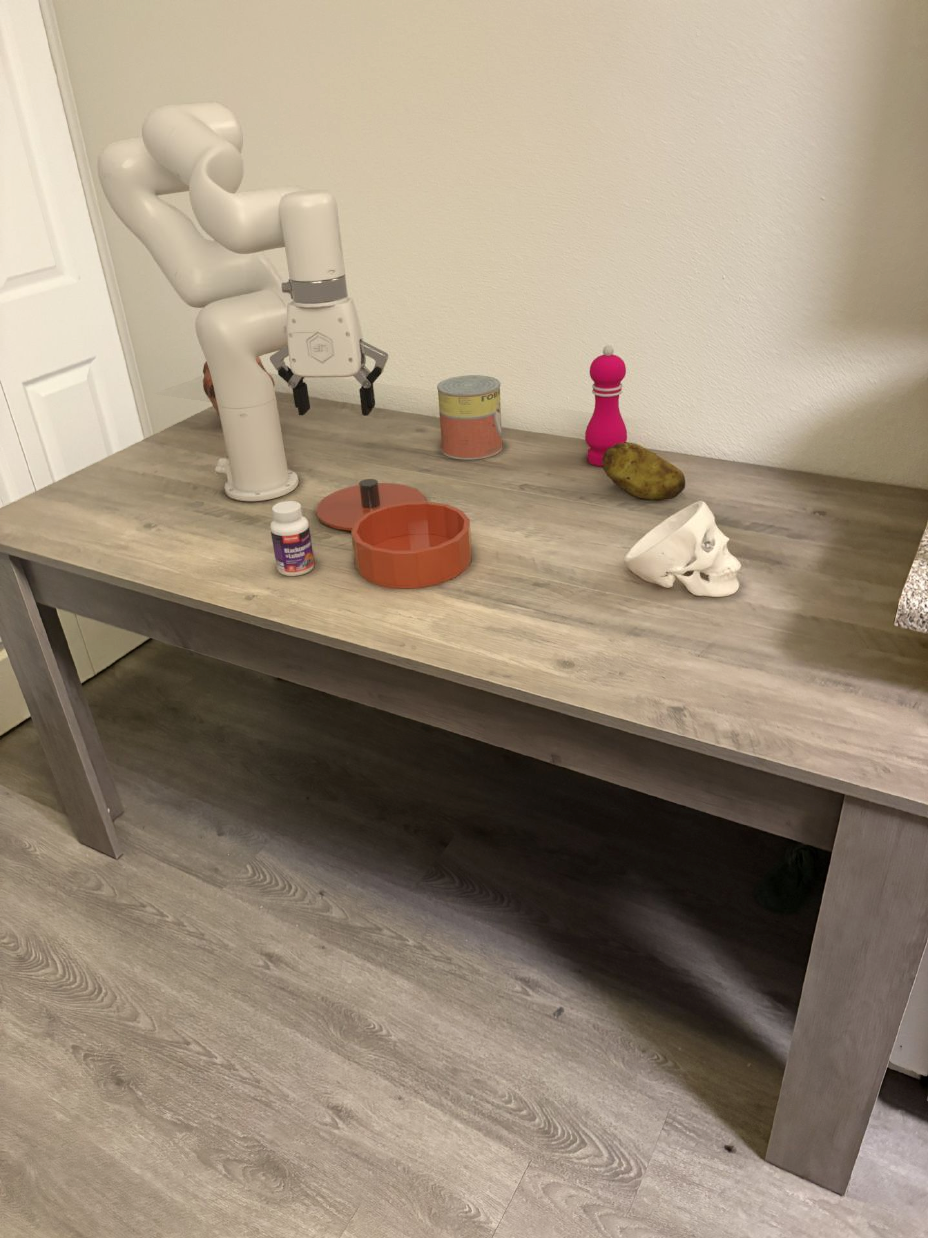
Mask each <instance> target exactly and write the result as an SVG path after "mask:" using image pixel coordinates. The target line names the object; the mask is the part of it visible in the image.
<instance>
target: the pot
mask: <svg viewBox="0 0 928 1238" xmlns="http://www.w3.org/2000/svg"><path fill="white" fill-rule="evenodd" d="M471 532H472V531H471V519H470V518H469V517H468V516H467V514H466V513H465V512H464V511H463V510H462V509H459V508H457V507H454V506H452V505H449V504H445V503H440V502H432V501H426V502H404V503H399V504H394V505H389V506H384V507H381V508H379V509H376V510H374V511H371V512H369V513H366V514H365V515H364V516H362V517H361V518H360V519H359V520H357V521H356V522H355V523H354V526H353V529H352V531H350V536H351V543H352V550H353V559H354V564H355V566H356V569H357V571H358V574H359V575H360V576H361V577H362V578H363V579H364V580H366V581H368V582H370V583H372V584H374V585H378V586H380V587H385V588H391V589H419V588H427V587H431V586H436V585H440V584H443V583H446V582H449V581H451V580H452V579H454V578H456V577H458V576H459V575H461V574H463V572H464V571H466V570H467V568H468V567H469V566H470V564H471V561H472V549H473V548H472V535H471V534H472V533H471Z"/></svg>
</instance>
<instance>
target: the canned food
mask: <svg viewBox="0 0 928 1238" xmlns="http://www.w3.org/2000/svg"><path fill="white" fill-rule="evenodd" d="M436 389H437V398H438V411H439V426H440V441H441V442H440V443H441V453H442V454H443V455H444V456H446V457H448V458H450V459H453V460H461V461H476V460H483V459H488V458H491V457H494V456H496V455H497V454H499V453H501V452H502V450H503V438H502V434H503V433H502V406H501V381H500V380H498V379H497V378H495V377H492V376H489V375H480V374H479V375H478V374H477V375H476V374H475V375H474V374H471V375H469V374H468V375H460V376H454V377H449V378H446V379H443V380H442V381H440V382H438V384H437V386H436Z"/></svg>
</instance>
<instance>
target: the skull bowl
mask: <svg viewBox="0 0 928 1238" xmlns="http://www.w3.org/2000/svg"><path fill="white" fill-rule="evenodd" d="M729 540H730V538H729V537H728V536H726V535H725V533H724V532H722V531H721V530H720V529H719V528H718V526H717V524H716V517H715V515H714V513H713V512H712V511H711V508H710V507H709V505H708V504H707V503H706V502H705V501H703V500H698V501H695V502H694V503H692V504H690V505H688V506H686V507H684V508H682V509H680V510H678V511H676V512H675V513H673V514H672V515H669V516H668V517H667V518H666V519H664V520H662V521H661V522H660V523H658V524H657V525H656V526H654V527H653V528H652V529H651V530H649V531H648V532H647V533H646V534H644V535H643V536H642V537H640V539H639V540H637V541H636V542H635V543H634V544H633V545H632V546H631V547H630V548H629V550H628V551H627V552H626V554H625V556H624V557H623V562H624V564H625V566H627V568H628V569H629V570H630V572H631V573H633V574H635V575H636V576H638V577H639V578H640V579H642V580H643V581H646V582H647V583H651V584H656V585H658V586H660V587H663V588H667V589H670V588H673V587H674V583H675V581H676V580H677V579H678V580H679V581H680V582H681V583H682V584H683V585H684V586H685V588H686V589H687V591H688V592H689V593H691V594H692V595H694V596H698V597H711V598H724V597H728V596H732V595H734V594H736V592H738V590H739V588H740V582H739V580H738V578H737V575H738V573H739V571H740V570H741V568H742V564H741V562H740V561H739V560H738V558H737V557H736V556H734V555H732V553H731V552H730V551H729V549H728V542H729ZM689 571H693V573H692V574H691V575H689V576H687V575H684V574H685V573H687V572H689ZM701 574H704V575H706V576H707V577H708V580H706V579H704V578H702V577H701Z"/></svg>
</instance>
